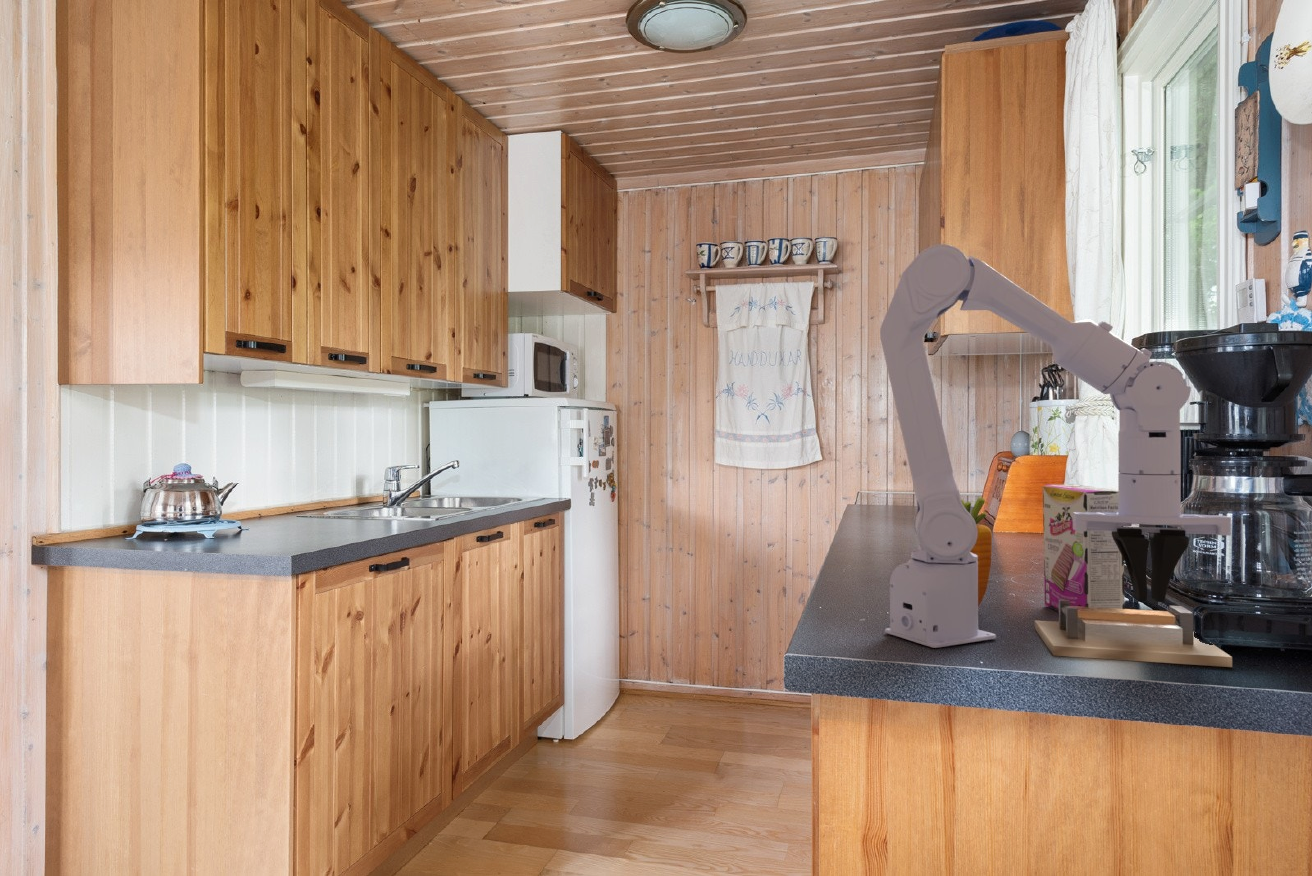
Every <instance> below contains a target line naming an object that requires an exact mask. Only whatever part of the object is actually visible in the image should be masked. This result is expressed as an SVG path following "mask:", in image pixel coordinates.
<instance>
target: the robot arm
mask: <svg viewBox="0 0 1312 876" xmlns="http://www.w3.org/2000/svg"><path fill="white" fill-rule="evenodd" d="M958 301H960V302H961V301H962V303H961V306H960V307H959V308H960V309H959V310H960V311H989V312H991V313H993V314H995V315H996V316H998V317H1000V319H1003V320H1005V321H1007V322H1008V323H1009V324H1012V325H1013V326H1015V327H1016V328H1019V329H1020V330H1023V331H1024V332H1026V333H1027V334H1029V335H1030V336H1033V337H1034V338H1036V339H1038V340H1039V341H1041V342H1043V343H1045V344H1047V346H1049V347H1050V348H1051V352H1052V356H1053V361H1054V363H1055V365H1057V366H1059V367H1061V368H1062V369H1064V371H1067V372H1068V373H1070V374H1072V375H1073V376H1074V377H1077V378H1078V379H1080V380H1081V381H1083V382H1084V383H1086V384H1087V385H1089V386H1090V387H1092V388H1094V390H1095V389H1096V390H1097V391H1098V392H1099V393H1101V394H1103V395H1109V397H1110V400H1111V402H1112V404H1113V405H1114V407H1115V408H1116V409H1117V411H1118V412H1119V414H1118V415H1119V420H1118V421H1119V426H1118V427H1119V430H1118V442H1117V443H1118V473H1117V474H1118V476H1117V477H1118V479H1117V480H1118V481H1117V482H1118V485H1117V487H1118V490H1117V491H1118V507H1119V512H1073V529H1074V530H1076V531H1112V537H1113V540H1114V541H1115V543H1116V545H1117V547H1118V549H1119V551H1120V553H1121V555H1122V557H1123V559H1124V565H1125V566H1126V569H1127V572H1128V575H1129V578H1130V582H1131V586H1132V591H1133V598H1134V599H1136V600H1138V601H1140V602H1147V601H1148V581H1147V579H1148V578H1147V567H1148V566H1147V562H1148V553H1149V548H1150V555H1151V556H1150V557H1151V582H1150V593H1151V599H1153V600H1154V601H1156V602H1158V603H1165V601H1166V596H1167V591H1168V588H1169V586H1170V585H1169V584H1170V581H1171V580H1172V579H1171V578H1172V575H1173V573H1174V571H1175V569H1176V567H1177V565H1178V563H1179V561H1180V559H1181V558H1182V556H1183V555H1184V553H1185V551H1186V550H1187V548H1188V546H1189V544H1190V537H1189V536H1186V535H1187V534H1193V535H1194V534H1195V535H1218V536H1231V535H1232V517H1231V516H1227V515H1216V514H1215V515H1213V514H1212V515H1211V514H1194V513H1193V514H1191V513H1182V512H1181V509H1182V508H1181V506H1182V503H1181V500H1182V497H1181V493H1182V492H1181V489H1182V488H1181V485H1182V483H1181V481H1182V479H1181V478H1182V477H1181V476H1182V475H1181V474H1182V473H1181V470H1182V469H1181V468H1182V467H1181V466H1182V465H1181V464H1182V463H1181V461H1182V458H1181V445H1182V444H1181V436H1182V435H1181V412H1180V410H1181V409H1182V408H1183V407H1184V406H1185V404H1186V403H1187V402H1188V400H1189V398H1190V395H1191V391H1192V388H1191V386H1190V385H1188V384H1187V379H1186V378H1184V377H1183V376H1184V374H1183V373H1182V372H1181V370H1180V369H1179V368H1177V366H1175V365H1173V364H1171V363H1168V362H1165V361H1157V360H1156V361H1150V359H1151V356H1152V355H1153V352H1151V350H1148V349H1146V348H1141V349H1138V348H1136V347H1135V346H1134V345H1132V344H1130V343H1128V341H1125V340H1124V339H1122V338H1120V337H1119V336H1117V335H1116V334H1114V333H1113V332H1111V331H1112V329H1113V325H1112V324H1110V323H1108V322H1106V321H1105V320H1103V321H1101V322H1100V321H1099V322H1098V323H1096V322H1095V321H1093V320H1091V319H1083V320H1079V321H1071V320H1069V319H1067V318H1066V317H1064V316H1062V315H1061V314H1060V313H1058V312H1057V311H1055V310H1053V308H1051V307H1049V306H1048V305H1046V303H1044V302H1042V301H1041V300H1039V299H1038V298H1037V297H1035V296H1034V295H1033V294H1031V293H1029V292H1027V291H1026V290H1025V289H1023V288H1022V287H1020V286H1019V285H1017V284H1016V283H1015V282H1013V281H1011V280H1010V279H1009V278H1007V277H1006V276H1005V275H1003V274H1002V273H1000V272H998V271H997V270H996V269H994V268H993V267H991V266H990V265H988V264H987V263H986V262H985V261H983V260H981V259H979V258H977V257H974V256H971V255H970V256H968V257H967V256H966V254H965V253H964V252H963V251H962V250H961V249H959V248H957V246H953V245H951V244H935V245H934V244H933V245H931V246H929V247H926V248H925V249H923V250H922V251H921V252H919V254H917V255H916V257H915V258H914V259H913V260H912V261H911V262H910V263H909V265H907V267H906V268H905V269H904V270H903V272H902V273H901V276H900V279H899V281H898V284H897V287H896V289H895V291H894V294H893V297H892V299H891V302H890V303H889V306H888V309H887V311H886V313H885V315H884V319H883V320H882V322H881V325H880V329H879V336H880V337H879V338H880V342H881V346H882V347H881V348H882V351H883V356H884V360H885V365H886V368H887V372H888V373H887V374H888V378H889V381H890V386H891V391H892V395H893V400H894V404H895V408H896V413H897V418H898V421H899V426H900V431H901V433H902V434H901V435H902V439H903V444H904V449H905V453H906V458H907V461H908V466H909V467H908V468H909V470H910V474H911V475H910V476H911V479H912V486H913V490H914V495H915V499H916V511H915V514H914V517H913V528H914V531H915V534H916V538H917V540H918V542H919V544H918V545H917V546H916V547H915V549H912V550H911V551H910V552H911V553H910V556H911V557H910V559H909V560H908V561H907V562H904V563H901V564H899V565H896V567H895V568H894V569H893V571H892V573H891V575H890V578H889V627H887V628H885V629H884V631H885V634H887V635H888V634H889V635H893V636H894V637H898V638H901V639H905V640H907V641H910V642H913V643H917V644H919V645H920V644H921V645H923V646H925V647H930V648H933V649H934V648H935V649H937V648H943V647H944V648H945V647H951V646H957V645H963V644H968V643H969V644H970V643H975V642H983V641H989V640H994V639H997V634H996V633H992V632H988V631H986V630H981V629H979V607H978V561H977V560H978V556H977V555H976V554H973V553H971V552H970V551H971V550H972V548H973V547H974V545H975V543H976V540H977V534H978V533H977V525H976V523H975V520H974V519H973V517H972V516H971V512H970V513H969V512H968V511H967V510H966V509H965V507H964V506H963V504H962V501H961V500H962V499H961V492H960V490H959V486H958V484H957V480H956V478H955V475H954V471H953V466H952V462H951V458H950V454H949V453H950V452H949V448H948V445H947V440H946V436H945V432H944V431H945V430H944V427H943V423H942V419H941V414H940V410H939V406H938V402H937V397H936V393H935V389H934V384H933V379H932V374H931V371H930V370H931V369H930V365H929V362H928V357H927V354H926V349H925V345H924V337H925V336H926V334H927V333H928V332H929V330H930V329H931V328H932V326H933V325H934V323H935V322H936V320H937V319H938V318H939V317H940V316H942V315H943V314H945V313H946V312H948V311H949V310H950V309H951V308H953V307H954V306H955V305H956V304H957V303H958ZM1132 525H1148V526H1145V527H1144V526H1132ZM1149 525H1153V526H1168V527H1153V526H1152V527H1150V526H1149ZM1119 526H1124V527H1119ZM1142 533H1150V534H1149V535H1148V538H1149V539H1147V538H1145V534H1142ZM1149 545H1150V547H1149Z"/></svg>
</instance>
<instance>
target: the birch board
mask: <svg viewBox="0 0 1312 876" xmlns="http://www.w3.org/2000/svg"><path fill="white" fill-rule="evenodd" d="M1034 630H1035V631H1036V633H1037V634H1038V635H1039V637H1040V638H1041V640H1042V641H1043V643H1044V644H1045V645H1046V647H1047V648H1048V650H1049V651H1050V652H1051V654H1052V656H1055V657H1072V658H1084V659H1085V658H1087V659H1102V660H1117V661H1118V660H1120V661H1131V662H1132V661H1133V662H1149V663H1162V664H1163V663H1164V664H1178V665H1194V666H1195V665H1196V666H1210V667H1223V668H1224V667H1225V668H1226V667H1227V668H1233V656H1231V654H1228V653H1227V652H1225V651H1224V650H1223V649H1221V648H1219V647H1217V645H1215V644H1213V645H1209V644H1205V643H1202V642H1200V641H1199V639H1197V638H1195V637H1194V645H1187V644H1183V648H1173V647H1156V646H1140V645H1123V644H1107V643H1090V642H1085V641H1084V640H1083V639H1082V638H1081V637H1080V636H1079V635H1078V639H1067V637H1066V630H1060V629H1059V621H1057V620H1056V621H1055V620H1054V621H1053V620H1038V619H1037V620H1034Z"/></svg>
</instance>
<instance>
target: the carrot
mask: <svg viewBox="0 0 1312 876" xmlns="http://www.w3.org/2000/svg"><path fill="white" fill-rule="evenodd" d="M985 500H986V499H985V498H983V497H978V498H977V500H976V501H975V503H974V505H973V508H972V510H971V507H972V506H971V505H972V502H970V501H966V502H965V501H964V500H963V499H961V501H962V504H963V506H964V507H965V509H966V510H967V511H968V512H969V513H970V514H971V516H972V517H973V519H974V520H975V523H976V525H977V533H978V534H977V540H976V543H975V545H974V547H973V548H972V550H971V551H970V552H971V553H973V554H976V555H977V556H978V560H977V561H978V608H979V607H980V605H981V603H982V601H983V599H984V597H985V594H986V591H987V589H988V583H989V579H990V573H991V565H992V552H993V550H992V548H993V547H992V546H993V545H992V543H993V535H992V530H991V528H990V527H988V526H986V525H984V524H979V523H980V522H981V521H982V520H983V519H984V518H986V516H987V515H988V514H987V513H986V512H983V513H980V511H981V510H982V507H983V506H984V504H985V502H986V501H985Z"/></svg>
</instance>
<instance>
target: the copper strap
mask: <svg viewBox="0 0 1312 876" xmlns="http://www.w3.org/2000/svg"><path fill="white" fill-rule="evenodd" d="M1066 607H1076V608H1077V609H1078V618H1083V619H1100V620H1117V621H1134V622H1152V623H1171V624H1175V616H1174V615H1172V614H1171V613H1169V610H1167V611H1166V610H1148V609H1132V608H1125V609H1116V608H1098V607H1080V606H1067V605H1064V606H1063V607H1062V608H1061V610H1062V612H1063V613H1064V614H1065V615H1066Z"/></svg>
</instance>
